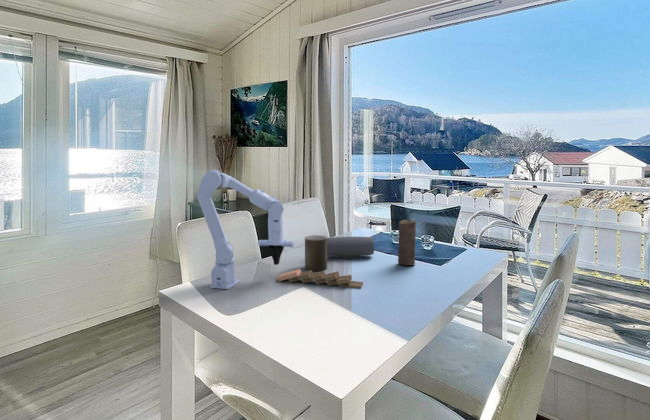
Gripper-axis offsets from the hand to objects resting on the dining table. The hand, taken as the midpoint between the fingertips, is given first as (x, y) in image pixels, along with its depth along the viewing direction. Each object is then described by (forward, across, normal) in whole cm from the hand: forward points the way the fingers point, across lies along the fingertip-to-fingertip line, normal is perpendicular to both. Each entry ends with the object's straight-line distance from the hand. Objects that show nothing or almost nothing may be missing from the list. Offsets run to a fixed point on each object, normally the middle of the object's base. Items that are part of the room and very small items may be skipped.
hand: (276, 263), depth 149 cm
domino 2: (+6, -6, 0) cm, 8 cm away
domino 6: (+6, -26, 0) cm, 26 cm away
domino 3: (+6, -11, 0) cm, 12 cm away
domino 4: (+6, -17, 0) cm, 18 cm away
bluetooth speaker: (+7, -22, -36) cm, 43 cm away
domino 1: (+6, -1, 0) cm, 6 cm away
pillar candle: (+7, -12, -17) cm, 22 cm away
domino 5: (+6, -21, 0) cm, 22 cm away
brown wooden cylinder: (+7, -50, -30) cm, 58 cm away
